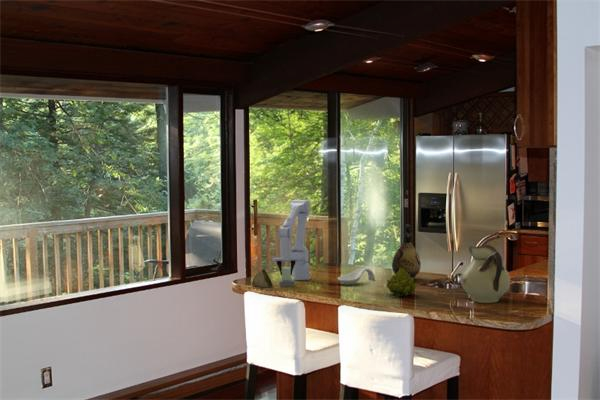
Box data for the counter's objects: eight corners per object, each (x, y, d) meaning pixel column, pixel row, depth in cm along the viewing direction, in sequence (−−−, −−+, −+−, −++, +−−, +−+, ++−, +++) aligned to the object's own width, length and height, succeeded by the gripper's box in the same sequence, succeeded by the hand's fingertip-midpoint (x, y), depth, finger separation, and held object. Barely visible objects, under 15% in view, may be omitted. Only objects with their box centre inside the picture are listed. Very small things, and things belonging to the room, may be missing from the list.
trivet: (293, 284, 390) (293, 278, 390) (294, 286, 382) (294, 281, 382) (278, 284, 390) (278, 279, 390) (279, 287, 382) (279, 281, 382)
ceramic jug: (422, 281, 388) (422, 226, 386) (393, 282, 389) (393, 226, 387) (418, 276, 405) (417, 223, 403) (390, 276, 406) (390, 223, 404)
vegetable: (394, 292, 342) (393, 263, 349) (382, 304, 355) (382, 276, 362) (423, 296, 344) (422, 267, 352) (411, 307, 358) (410, 280, 365)
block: (290, 278, 388) (290, 267, 388) (290, 279, 384) (290, 268, 383) (281, 278, 388) (281, 267, 388) (282, 279, 384) (282, 268, 383)
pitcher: (473, 293, 354) (473, 242, 352) (520, 299, 339) (520, 246, 337) (452, 301, 337) (452, 248, 335) (500, 308, 322) (500, 252, 320)
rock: (246, 282, 385) (255, 282, 376) (253, 268, 388) (263, 267, 380) (261, 292, 389) (271, 292, 381) (267, 278, 392) (278, 278, 384)
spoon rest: (348, 287, 378) (348, 273, 377) (333, 284, 387) (332, 271, 386) (379, 281, 393) (379, 268, 393) (363, 278, 402) (363, 265, 402)
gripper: (272, 251, 380) (272, 276, 381) (299, 250, 381) (300, 275, 382) (271, 249, 387) (272, 274, 388) (299, 248, 388) (299, 273, 389)
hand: (286, 275), depth 386 cm, fingers open, 5 cm apart
